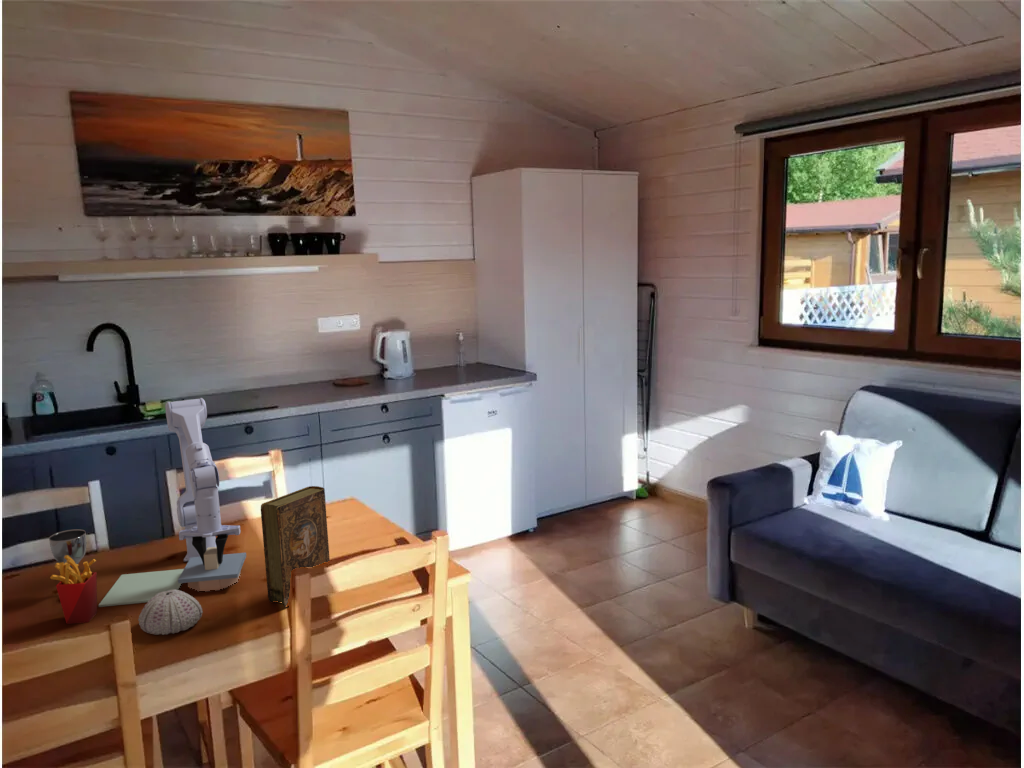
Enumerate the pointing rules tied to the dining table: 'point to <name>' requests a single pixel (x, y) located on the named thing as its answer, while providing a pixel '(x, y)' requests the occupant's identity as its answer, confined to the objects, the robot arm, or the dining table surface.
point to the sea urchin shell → (170, 613)
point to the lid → (212, 567)
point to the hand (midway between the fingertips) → (213, 563)
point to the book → (293, 537)
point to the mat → (141, 587)
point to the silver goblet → (68, 545)
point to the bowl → (212, 584)
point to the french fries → (77, 591)
